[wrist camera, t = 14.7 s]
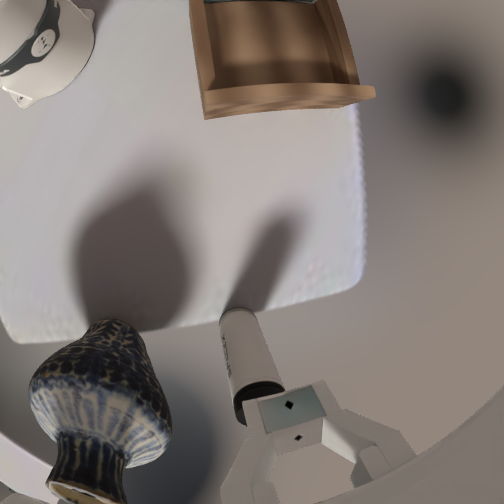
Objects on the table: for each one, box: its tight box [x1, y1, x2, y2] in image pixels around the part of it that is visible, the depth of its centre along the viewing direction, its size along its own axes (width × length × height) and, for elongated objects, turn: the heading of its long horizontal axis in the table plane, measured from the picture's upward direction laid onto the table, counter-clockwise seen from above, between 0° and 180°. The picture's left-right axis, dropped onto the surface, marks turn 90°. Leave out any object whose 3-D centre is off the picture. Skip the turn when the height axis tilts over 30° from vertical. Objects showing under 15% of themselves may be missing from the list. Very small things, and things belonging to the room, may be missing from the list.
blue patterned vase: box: [28, 319, 172, 504], centre depth 27 cm, size 21×19×30 cm
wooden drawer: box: [189, 0, 376, 120], centre depth 27 cm, size 20×18×10 cm
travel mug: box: [219, 308, 285, 426], centre depth 34 cm, size 6×7×20 cm
